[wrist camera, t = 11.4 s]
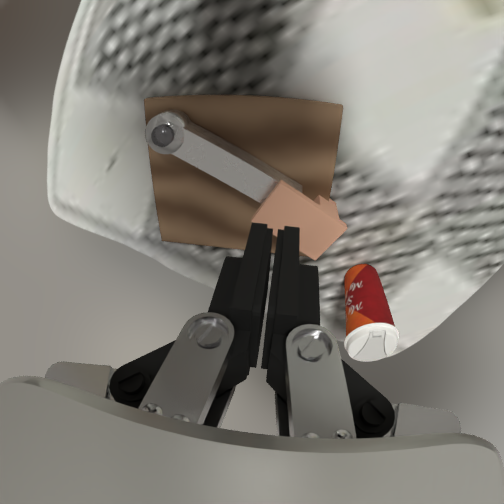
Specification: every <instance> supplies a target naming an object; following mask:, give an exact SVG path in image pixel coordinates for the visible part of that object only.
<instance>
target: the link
mask: <svg viewBox="0 0 504 504" xmlns="http://www.w3.org/2000/svg"><path fill="white" fill-rule="evenodd" d="M145 137H146V140H147V143H148V144H149V146H150V147H151V148H152V149H153V150H154V151H156V152H158V153H160V154H173V155H174V156H176V157H178V158H180V159H182V160H184V161H186V162H188V163H189V164H191V165H193V166H195V167H197V168H199V169H200V170H202V171H204V172H206V173H208V174H210V175H211V176H213V177H215V178H217V179H219V180H220V181H222V182H224V183H226V184H228V185H229V186H231V187H233V188H235V189H236V190H238V191H240V192H242V193H244V194H245V195H247V196H249V197H250V198H252V199H254V200H256V201H257V202H259V203H261V204H262V203H263V202H264V201H265V199H266V198H267V197H268V196H269V194H270V193H271V192H272V190H273V189H274V188H275V186H276V185H277V184H278V182H279V181H280V180H283V181H284V182H286V183H287V184H289V185H290V186H292V187H293V188H295V189H296V190H298V191H299V192H301V193H302V185H300V184H299V183H297V182H296V181H294V180H292V179H291V178H289V177H288V176H286V175H284V174H283V173H281V172H279V171H278V170H276V169H275V168H273V167H271V166H270V165H268V164H266V163H265V162H263V161H261V160H259V159H258V158H256V157H254V156H253V155H251V154H249V153H247V152H246V151H244V150H242V149H240V148H239V147H237V146H235V145H233V144H232V143H230V142H228V141H226V140H224V139H222V138H221V137H219V136H217V135H215V134H213V133H211V132H210V131H208V130H206V129H204V128H202V127H200V126H198V125H196V124H194V123H192V122H191V120H190V118H189V117H188V115H187V114H185V113H184V112H182V111H180V110H177V109H170V110H166V111H164V112H162V113H160V114H158V115H157V116H155V117H153V118H152V119H151V120H150V121H149V122H148V124H147V126H146V130H145Z"/></svg>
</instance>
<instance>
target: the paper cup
mask: <svg viewBox="0 0 504 504" xmlns="http://www.w3.org/2000/svg"><path fill="white" fill-rule="evenodd" d="M345 308H346V338H345V341H344V347H345V349H346V350H347V351H348V354H349V355H350V356H351V358H353V359H356V360H358V361H364V362H365V361H366V362H367V361H375V360H379V359H382V358H384V357H387V356H388V355H390V354H391V353H392V352H393V351H394V350H395V349H396V347H397V344H398V339H399V331H398V329H397V328H396V327H395V325H394V322H393V318H392V315H391V312H390V309H389V305H388V302H387V299H386V296H385V293H384V290H383V287H382V284H381V281H380V279H379V276H378V273H377V271H376V269H375V268H374V267H372V266H371V265H368V264H359V265H356V266H353V267H352V268H350V269H349V270H348V271H347V273H346V275H345Z"/></svg>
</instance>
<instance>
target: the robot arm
mask: <svg viewBox="0 0 504 504" xmlns="http://www.w3.org/2000/svg"><path fill="white" fill-rule="evenodd" d="M267 226H268V225H267V224H263V223H253V222H252V224H251V228H250V232H249V236H248V240H247V244H246V247H245V251H244V255H243V258H237V257H228V256H227V257H226V258H225V260H224V263H223V266H222V270H221V273H220V276H219V279H218V282H217V285H216V288H215V291H214V294H213V298H212V301H211V304H210V307H209V310H208V312H207V313H201V314H198V315H195V316H193V317H192V318H191V319H189V320H188V321H187V323H186V324H185V325H184V327H183V329H182V330H181V332H180V334H179V336H178V337H177V339H176V340H175V341H173V342H171V343H169V344H167V345H165V346H163V347H161V348H159V349H157V350H154V351H152V352H150V353H148V354H146V355H144V356H142V357H140V358H138V359H136V360H133V361H131V362H129V363H127V364H125V365H123V366H121V367H120V368H118V369H113V368H112V367H111V366H107V365H93V364H82V363H72V362H57V363H55V364H53V365H52V366H51V367H50V368H49V369H48V371H47V373H46V375H45V378H43V377H36V376H19V377H13V378H9V379H7V380H5V381H3V382H2V383H1V384H0V504H504V467H503V463H502V459H501V456H500V454H499V452H498V450H497V449H496V447H495V446H494V445H493V444H491V443H490V442H488V441H486V440H485V439H482V438H480V437H477V436H474V435H469V434H464V433H461V427H460V421H459V419H458V417H457V416H456V415H455V414H454V413H453V412H450V411H447V410H442V409H435V408H428V407H422V406H415V405H410V404H405V403H399V404H398V405H395V404H391V403H390V402H389V401H388V400H387V399H386V398H385V397H384V396H383V395H382V394H381V393H380V392H378V391H377V390H376V389H375V388H374V387H373V386H371V385H370V384H369V383H368V382H367V381H366V380H364V378H362V377H361V376H360V375H359V374H358V373H357V372H356V371H354V370H353V369H352V368H351V367H350V366H349V365H348V364H346V363H345V362H344V361H343V360H342V359H341V356H340V352H339V347H338V343H337V341H336V338H335V337H334V335H333V334H332V333H331V332H330V331H329V330H327V329H326V328H324V327H321V326H320V304H319V277H318V267H317V266H310V265H301V264H299V245H300V227H291V226H284V230H281V229H278V233H277V241H276V249H275V257H274V265H273V273H272V281H271V288H270V296H269V304H268V311H267V320H266V330H265V339H264V348H263V357H262V366H261V368H263V369H267V377H266V378H267V380H266V382H267V383H268V384H269V385H270V386H271V387H272V388H273V389H274V390H275V405H276V425H277V436H273V435H264V434H255V433H247V432H240V431H233V430H227V429H221V428H220V427H221V425H222V422H223V419H224V417H225V414H226V412H227V409H228V406H229V404H230V401H231V399H232V396H233V394H234V391H235V387H236V385H237V384H239V383H240V382H242V381H244V380H245V379H246V378H247V375H249V370H250V367H255V368H256V365H257V359H258V352H259V346H260V339H261V332H262V325H263V319H264V312H265V305H266V298H267V291H268V281H269V270H270V259H271V248H272V236H273V229H272V228H267Z"/></svg>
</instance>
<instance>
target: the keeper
mask: <svg viewBox="0 0 504 504" xmlns="http://www.w3.org/2000/svg"><path fill="white" fill-rule="evenodd" d="M251 222H253V223H263V224H267V225H268V226H267V228H272V229H273V235H275V236H276V237H277V233H278V229H281V230H284V226H291V227H300V245H299V251H301V252H302V253H304V254H306V255H307V256H309V257H310V258H312V259H314V260H316V259H317V258H318V257H319V256H320V255H321V254H322V253H323V252H324V251H325V250H326V249H327V248H328V247H329V246H330V245H331V244H332V243H333V242H334V241H335V240H336V239H337V238H338V237H339V236H340V235H341V234H342V233H343V232H344V231H345V230H346V229H347V226H346V224H345V223H344V222H343V221H341V220H340V219H339V216H338V211H337V206H336V203H335V202H334V201H332V200H331V199H330V198H329V201H327V200H326V199H325V198H323V197H322V196H320V195H318V196H317V197H316V199H315V200H314V201H313V200H311V199H310V198H308V197H307V196H305V195H304V194H302V193H301V192H299V191H298V190H296V189H295V188H293V187H292V186H290V185H289V184H287V183H286V182H284V181H283V180H280V181H279V182H278V184H277V185H276V186H275V188H274V189H273V190H272V192H271V193H270V194H269V196H268V197H267V198H266V199H265V201H264V202H263V203H262V205H261V206H260V207H259V209H258V210H257V211H256V213H255V214H254V215H253V217H252V220H251Z"/></svg>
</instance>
